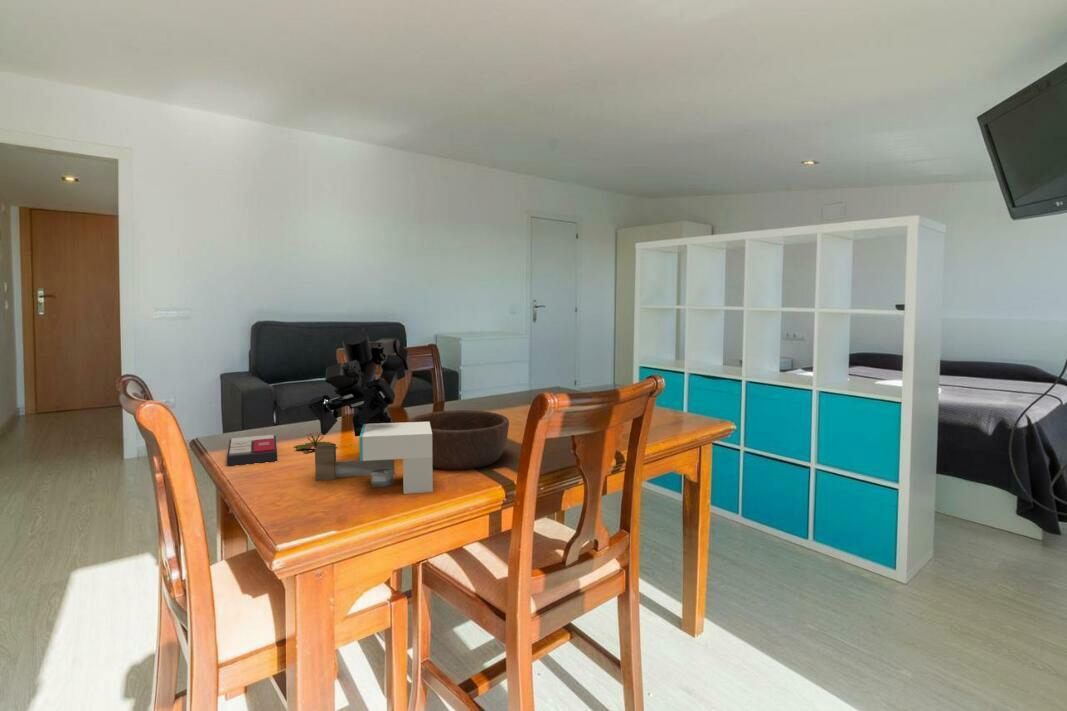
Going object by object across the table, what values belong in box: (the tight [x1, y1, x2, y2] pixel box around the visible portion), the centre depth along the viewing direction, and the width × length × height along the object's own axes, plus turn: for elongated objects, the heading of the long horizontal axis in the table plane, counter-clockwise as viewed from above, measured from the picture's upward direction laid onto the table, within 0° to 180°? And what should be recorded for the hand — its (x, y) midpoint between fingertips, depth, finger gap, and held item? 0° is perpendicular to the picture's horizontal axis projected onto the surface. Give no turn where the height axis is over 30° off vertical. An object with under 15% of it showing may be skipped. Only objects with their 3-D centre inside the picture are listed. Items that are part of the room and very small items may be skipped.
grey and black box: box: [226, 434, 278, 467], centre depth 148 cm, size 11×4×15 cm
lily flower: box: [293, 431, 338, 454], centre depth 157 cm, size 12×12×5 cm
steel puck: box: [370, 469, 395, 489], centre depth 127 cm, size 5×5×3 cm
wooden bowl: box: [409, 409, 510, 471], centre depth 147 cm, size 25×25×10 cm
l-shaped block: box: [358, 421, 434, 495], centre depth 126 cm, size 12×15×12 cm
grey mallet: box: [314, 444, 395, 482], centre depth 133 cm, size 4×17×7 cm, turn 103°
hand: (341, 428), depth 122 cm, fingers open, 9 cm apart
